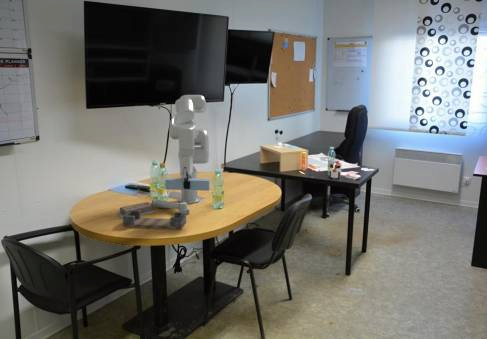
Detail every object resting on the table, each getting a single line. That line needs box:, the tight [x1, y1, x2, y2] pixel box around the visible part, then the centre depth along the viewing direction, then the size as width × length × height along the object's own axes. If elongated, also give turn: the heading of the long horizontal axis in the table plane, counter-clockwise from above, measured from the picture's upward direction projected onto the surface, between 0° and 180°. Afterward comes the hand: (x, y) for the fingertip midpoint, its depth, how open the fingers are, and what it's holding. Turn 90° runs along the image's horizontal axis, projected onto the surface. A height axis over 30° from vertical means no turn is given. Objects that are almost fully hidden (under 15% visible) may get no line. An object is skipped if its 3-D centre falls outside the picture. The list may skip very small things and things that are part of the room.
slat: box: [164, 177, 211, 192], centre depth 214 cm, size 22×4×5 cm, turn 86°
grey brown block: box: [116, 202, 156, 220], centre depth 227 cm, size 18×5×10 cm
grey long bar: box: [150, 199, 191, 215], centre depth 232 cm, size 5×7×25 cm
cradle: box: [122, 210, 187, 231], centre depth 211 cm, size 29×10×6 cm, turn 84°
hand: (187, 187), depth 214 cm, fingers closed on slat, 4 cm apart
